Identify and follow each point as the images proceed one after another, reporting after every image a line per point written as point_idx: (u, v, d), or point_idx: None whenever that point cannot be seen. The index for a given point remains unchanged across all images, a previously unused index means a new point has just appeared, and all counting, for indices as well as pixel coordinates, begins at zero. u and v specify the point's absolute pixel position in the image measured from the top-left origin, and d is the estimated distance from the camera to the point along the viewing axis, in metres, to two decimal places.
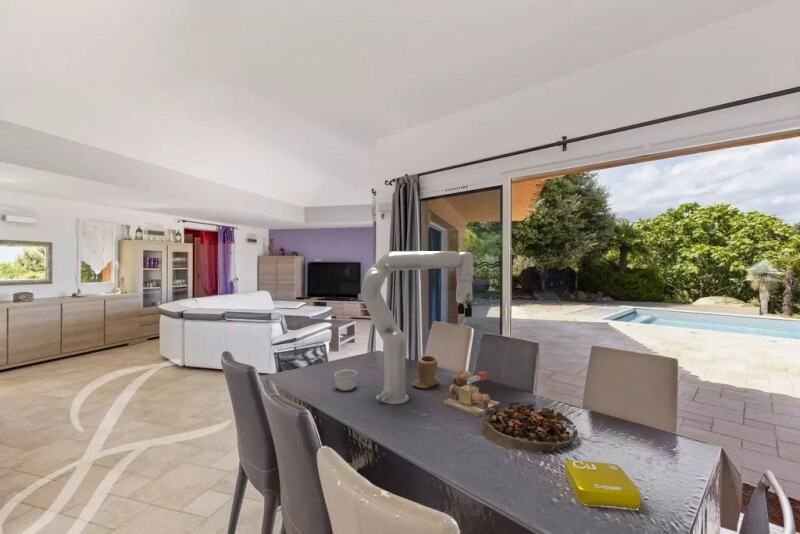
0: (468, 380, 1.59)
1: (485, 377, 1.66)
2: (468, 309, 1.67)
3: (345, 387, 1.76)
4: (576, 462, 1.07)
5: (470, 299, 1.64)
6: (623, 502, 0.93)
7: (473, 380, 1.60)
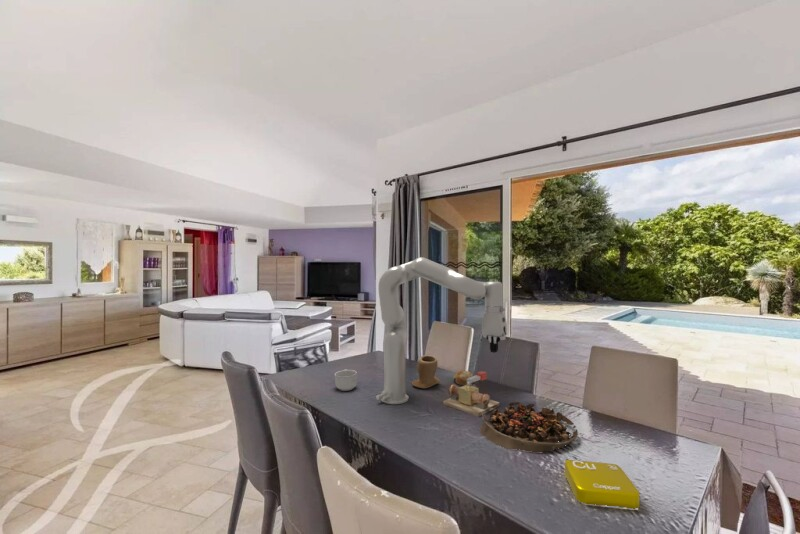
0: (468, 380, 1.59)
1: (485, 377, 1.66)
2: None
3: (345, 387, 1.76)
4: (576, 462, 1.07)
5: None
6: (622, 502, 0.93)
7: (473, 380, 1.60)
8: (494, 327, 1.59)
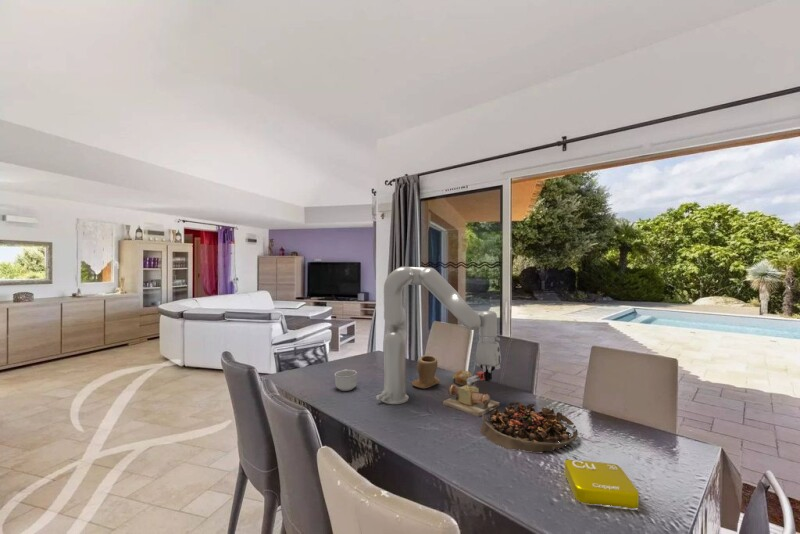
0: (468, 380, 1.59)
1: None
2: None
3: (345, 387, 1.76)
4: (576, 461, 1.07)
5: None
6: (621, 501, 0.93)
7: (473, 380, 1.60)
8: (489, 356, 1.61)
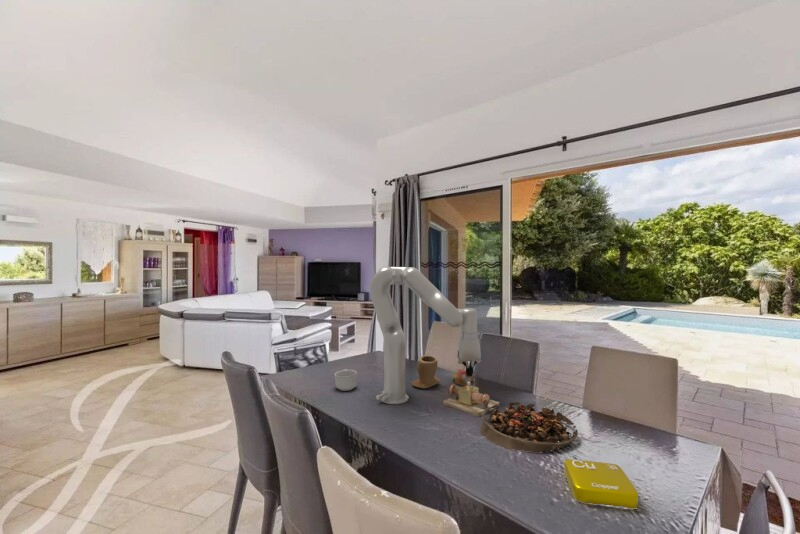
0: (468, 380, 1.59)
1: None
2: (466, 368, 1.69)
3: (345, 387, 1.76)
4: (576, 461, 1.07)
5: None
6: (620, 501, 0.93)
7: None
8: (474, 351, 1.67)
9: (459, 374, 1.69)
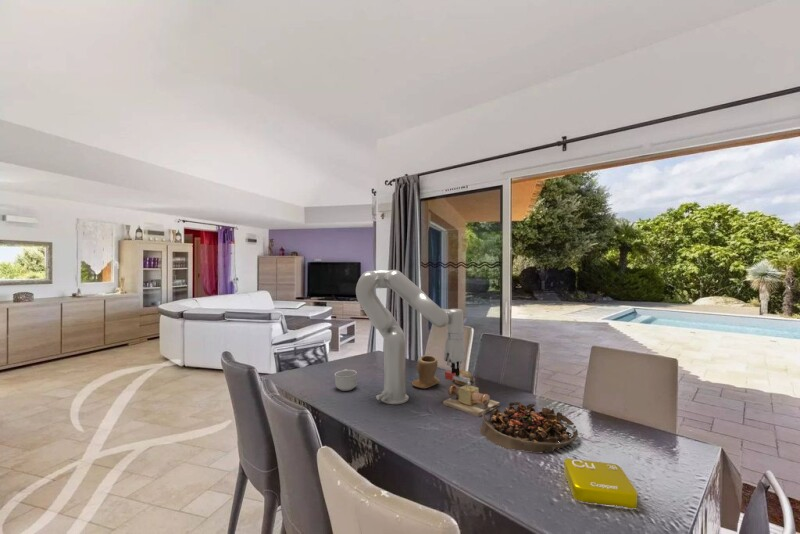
0: (468, 380, 1.59)
1: None
2: (452, 369, 1.68)
3: (345, 387, 1.76)
4: (575, 461, 1.07)
5: (447, 364, 1.65)
6: (619, 501, 0.93)
7: None
8: (461, 351, 1.68)
9: (448, 376, 1.65)
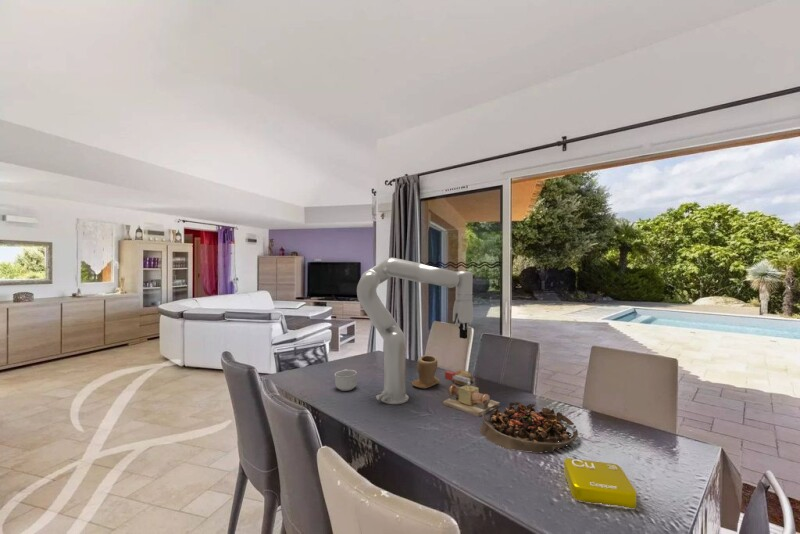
0: (468, 380, 1.59)
1: None
2: (460, 330, 1.69)
3: (345, 387, 1.76)
4: (575, 460, 1.08)
5: (455, 325, 1.67)
6: (618, 501, 0.93)
7: None
8: (470, 313, 1.69)
9: (448, 376, 1.65)
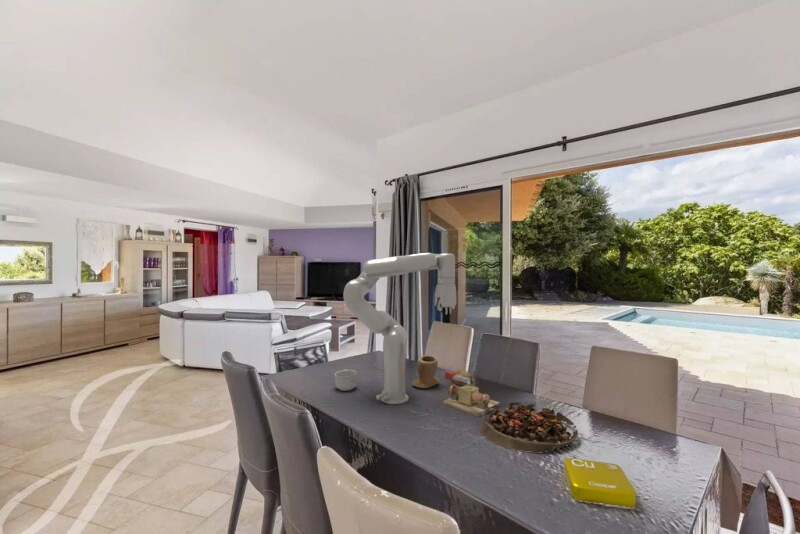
0: (468, 380, 1.59)
1: None
2: (443, 315, 1.63)
3: (345, 387, 1.76)
4: (575, 460, 1.08)
5: (437, 309, 1.60)
6: (617, 500, 0.93)
7: None
8: (452, 297, 1.63)
9: (448, 376, 1.65)
